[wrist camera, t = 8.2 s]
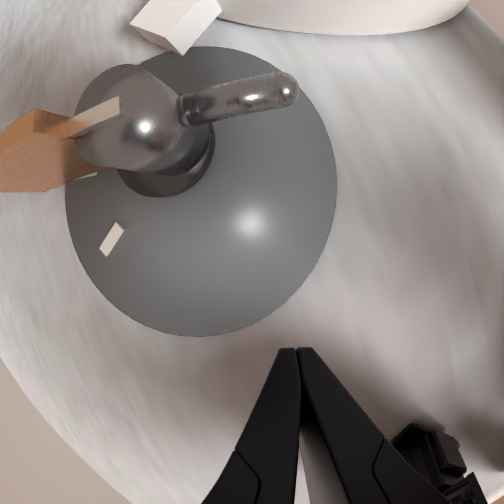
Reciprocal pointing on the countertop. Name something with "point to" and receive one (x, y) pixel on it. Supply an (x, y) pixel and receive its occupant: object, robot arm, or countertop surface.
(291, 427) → the robot arm
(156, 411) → the countertop surface
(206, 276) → the dial plate
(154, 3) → the ring with crossbar
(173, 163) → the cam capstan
